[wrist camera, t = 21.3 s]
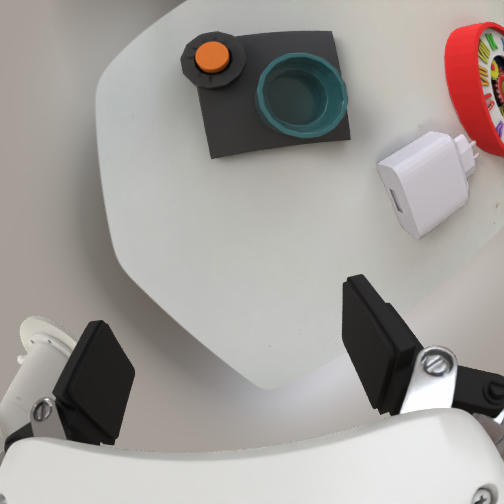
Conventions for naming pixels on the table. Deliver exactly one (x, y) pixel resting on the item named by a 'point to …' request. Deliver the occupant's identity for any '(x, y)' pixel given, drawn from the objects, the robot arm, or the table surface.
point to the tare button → (212, 57)
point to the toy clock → (478, 82)
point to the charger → (428, 180)
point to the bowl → (300, 96)
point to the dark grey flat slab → (251, 88)
